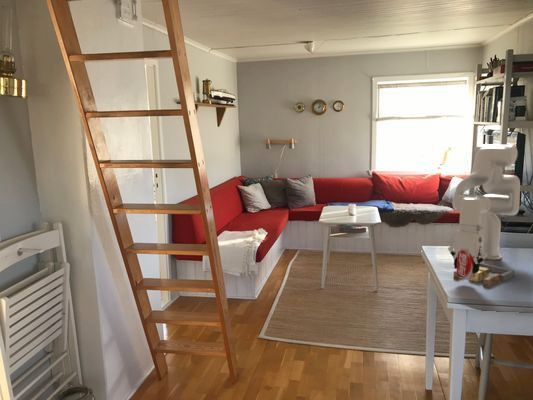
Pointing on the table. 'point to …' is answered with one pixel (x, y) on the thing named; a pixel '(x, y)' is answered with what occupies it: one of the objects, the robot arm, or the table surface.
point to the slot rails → (486, 281)
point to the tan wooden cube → (477, 277)
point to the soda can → (465, 265)
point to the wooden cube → (484, 272)
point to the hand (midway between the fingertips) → (466, 270)
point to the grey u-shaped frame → (499, 271)
